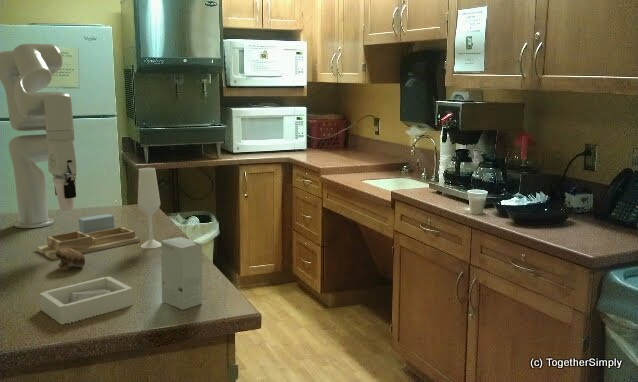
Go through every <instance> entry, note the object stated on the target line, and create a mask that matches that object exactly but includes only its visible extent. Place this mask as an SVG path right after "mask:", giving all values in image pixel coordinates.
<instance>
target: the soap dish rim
mask: <svg viewBox="0 0 638 382" xmlns="http://www.w3.org/2000/svg"><path fill="white" fill-rule="evenodd" d="M102 289H110V291H111V292H110V293H107V294H103V295H99V296H95V297H91V298H87V299H84V300H80V301H76V302H72V303H70V296H71V293H72V292H82V291H90V290H102ZM133 297H134V296H133V287H131V286H129V285H127V284H126V283H123V282H121V281H119V280H117V279H116V278H113V277H111V276H104V277H100V278H94V279H90V280H87V281H83V282H78V283H74V284H70V285H66V286H61V287H57V288H54V289H50V290H46V291H44V292H39V301H40V308H41V309H40V310H41V311H42V312H43V313H45V314H46V315H47V316H49V317H51V319H53V320H54V319H55V320H54V321H56V322H57V323H59V324H60V325H61V324H63V325H66V324H68V323H69V324H72V323H71V322H73V323H75V321H76V322H79V321H78V320H80V321H83V320H86V319H85V318H87V319H90V318H93V316H94V317H96V315H97V316H100V314H101V315H104V314H107V313H110V312H114V311H117V310H122V309H126V308H128V307H130V306H133V305H134V298H133ZM89 317H90V318H89ZM82 319H83V320H82ZM65 323H66V324H65Z"/></svg>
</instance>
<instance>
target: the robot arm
mask: <svg viewBox="0 0 638 382" xmlns="http://www.w3.org/2000/svg"><path fill="white" fill-rule="evenodd" d="M62 66H63V56H62V52H61V50H60V49H59V48H58V47H57V46H56V45H54V44H52V43H51V44H50V43H49V44H48V43H22V44H19V45H17V46H15V47H14V48H13V50H6V51H0V83H1V85H2V86H3V88H4V91H5V95H6V104H7V111H8V112H7V113H8V117H9V118H8V119H9V123H10V126H11V128H12V129H13V130H14V131H18V132H34V131H35V132H36V131H39V132H40V131H45V133H41V134H24V135H17V136H14V137H13V138H11V139H10V140H9V142H8V151H9V155H10V160H11V163H12V168H13V169H12V170H13V175H14V183H15V194H16V203H17V212H18V213H17V214H18V220H17V221H15V222H14V227H16V228H18V229H36V228H42V227H47V226H50V225H53V224H54V222H55V221H54V219H53V218H52V217H49V208H48V197H47V186H46V175H45V173H44V171H43V170H42V169H41V168H40V167H39V166H38V165H37V164H36V163H41V162H47V166H48V167H47V169H48V170H47V171H48V172H49V174H51V175H52V176H53V178H54V177H58V176H63V179H64V183H65V185H64V195H65V198H66V199H69V198H74V199H75V198H77V189H76V183H77V182H76V180H75V179H77V158H76V150H75V147H74V142H75V128H74V127H75V126H74V117H73V115H74V114H73V103H72V102H73V101H72V98H71V96H70V94H69V93H65V92H61V91H49V92H48V91H46V92H45V91H44V92H43V91H42V92H41V91H40V90H42V89H44V88H46V87H47V86H48V85H50V83H51V81H52V78H53V77H52V76H53V75H54V74H56V73H57V72H59V70H61V68H62ZM65 173H66V174H65ZM67 177H68V180H67ZM54 186H55V184H54ZM54 193H55V196H57V194H56V189H55V188H54Z"/></svg>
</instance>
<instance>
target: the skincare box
mask: <svg viewBox="0 0 638 382" xmlns="http://www.w3.org/2000/svg"><path fill="white" fill-rule="evenodd" d="M160 243H161V248H160V249H161V253H160V254H161V257H160V258H161V259H160V260H161V302H162V303H164V304H166V305H170V306H172V307H175V308H178V309H179V310H180V311H181V310H182V311H183V310H186V309H190V308H194V307H196V306H199V305H202V304H203V244H202V243H200V242H197V241H194V240H193V239H190V238H185V237H183V236H178V237H177V236H176V237H173V238H168V239H162V240H161V241H160Z"/></svg>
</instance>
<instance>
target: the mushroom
mask: <svg viewBox="0 0 638 382" xmlns="http://www.w3.org/2000/svg"><path fill="white" fill-rule="evenodd" d="M56 257H57V258H58V259H57V260H60V262H59V264H58V266H57V267H58V268H59V269H61V271H66V272H67V271H69V270H70V268H72V267H77V268H83V267H84V266H85V265H86V259H85V256H84V254H82V253H80V252H79V251H76V250H73V249H71V248H62V249H60V250H58V251H57V252H56Z"/></svg>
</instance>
